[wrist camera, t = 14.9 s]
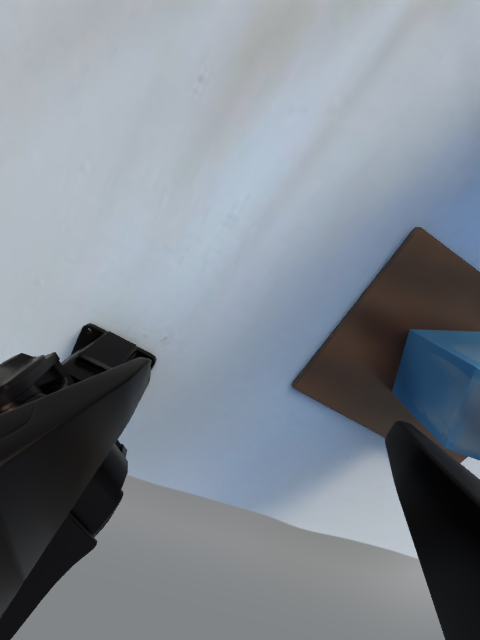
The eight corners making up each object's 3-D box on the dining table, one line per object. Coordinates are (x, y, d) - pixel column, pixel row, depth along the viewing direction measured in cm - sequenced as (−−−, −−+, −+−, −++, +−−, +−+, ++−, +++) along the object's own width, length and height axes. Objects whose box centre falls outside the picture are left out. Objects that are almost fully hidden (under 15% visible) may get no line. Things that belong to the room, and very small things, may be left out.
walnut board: (445, 467, 27) (449, 472, 26) (291, 384, 23) (292, 387, 23) (580, 352, 22) (589, 355, 22) (415, 226, 19) (420, 226, 18)
